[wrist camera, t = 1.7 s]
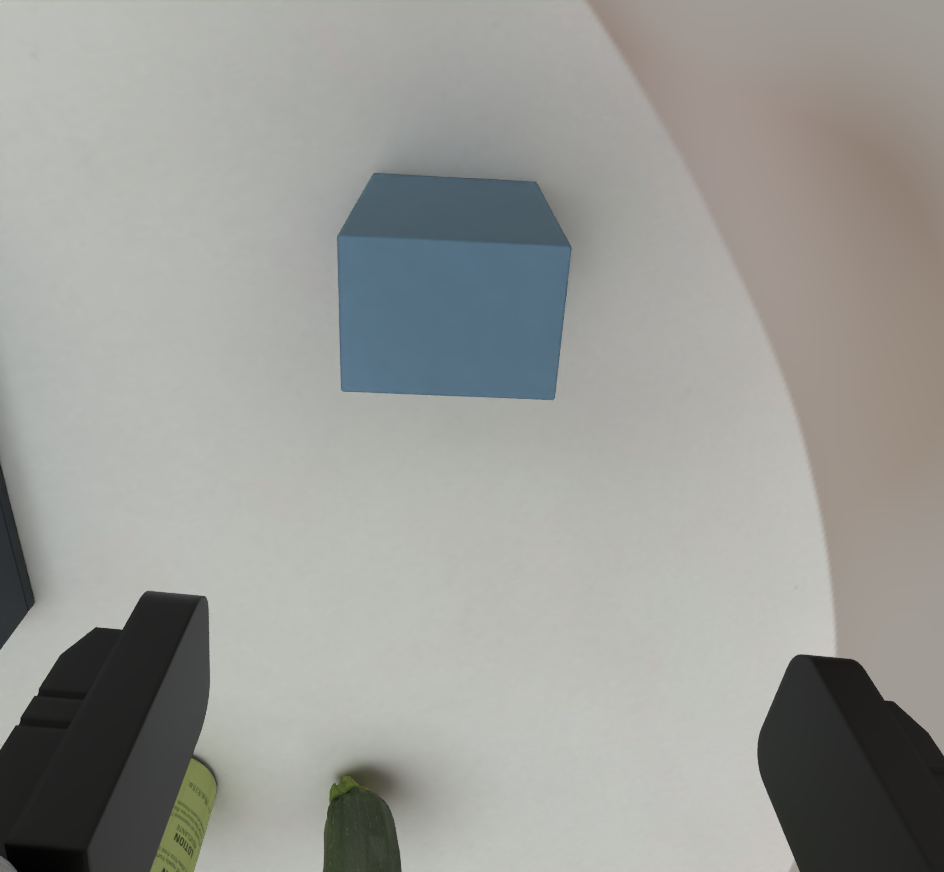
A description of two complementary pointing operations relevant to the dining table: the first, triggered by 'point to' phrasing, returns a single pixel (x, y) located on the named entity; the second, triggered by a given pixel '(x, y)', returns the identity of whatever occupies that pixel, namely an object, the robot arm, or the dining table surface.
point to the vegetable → (359, 831)
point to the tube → (187, 822)
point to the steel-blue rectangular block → (451, 288)
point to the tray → (11, 573)
